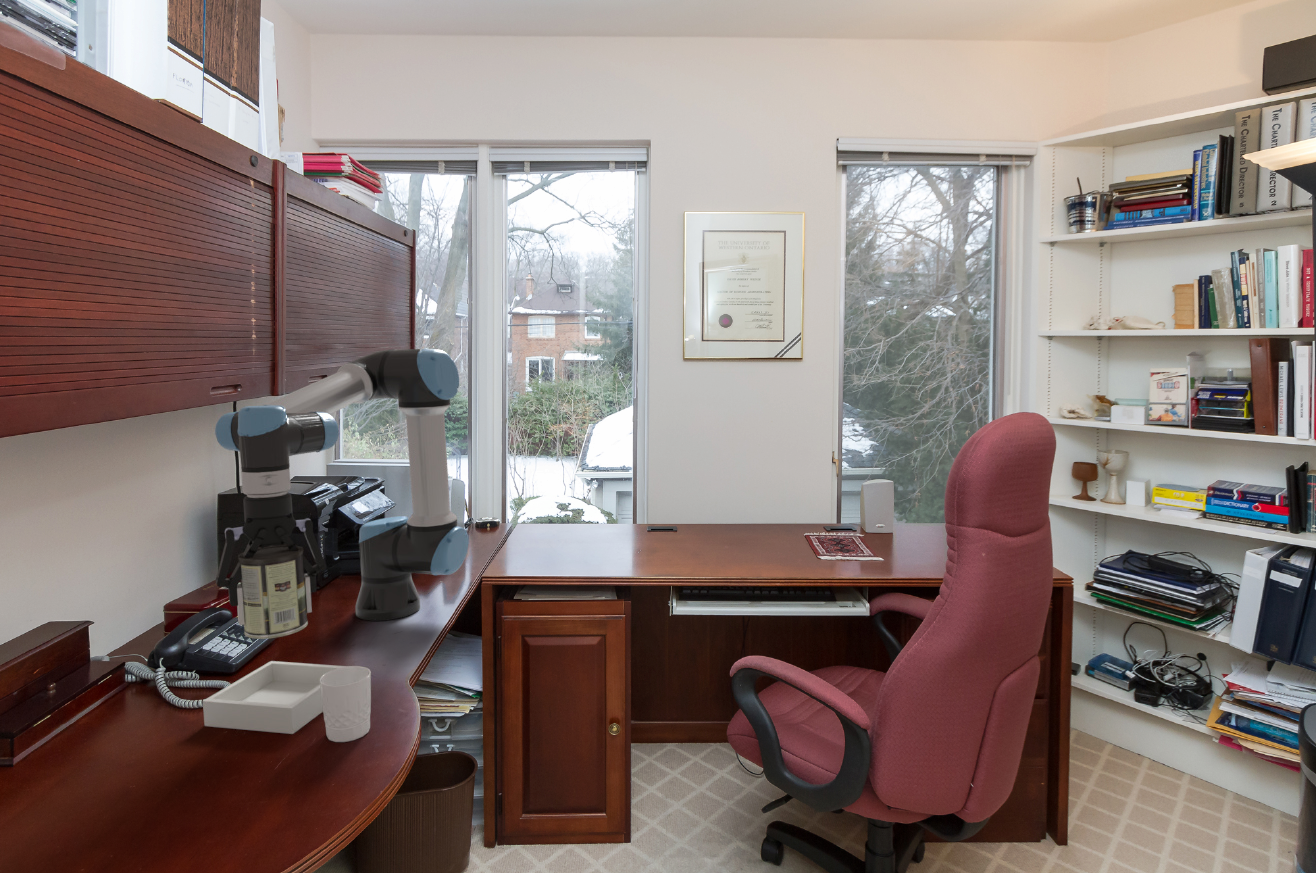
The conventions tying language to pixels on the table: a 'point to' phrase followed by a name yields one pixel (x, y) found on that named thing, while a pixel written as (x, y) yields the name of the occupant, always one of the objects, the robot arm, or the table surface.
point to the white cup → (346, 702)
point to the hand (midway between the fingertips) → (275, 616)
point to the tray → (269, 698)
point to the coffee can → (273, 592)
